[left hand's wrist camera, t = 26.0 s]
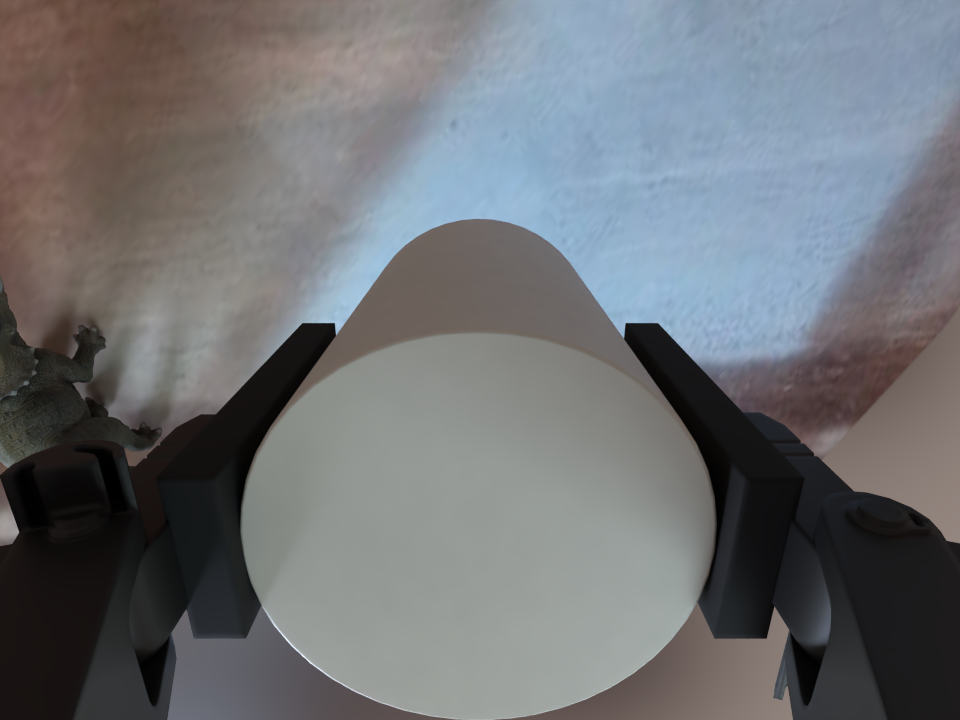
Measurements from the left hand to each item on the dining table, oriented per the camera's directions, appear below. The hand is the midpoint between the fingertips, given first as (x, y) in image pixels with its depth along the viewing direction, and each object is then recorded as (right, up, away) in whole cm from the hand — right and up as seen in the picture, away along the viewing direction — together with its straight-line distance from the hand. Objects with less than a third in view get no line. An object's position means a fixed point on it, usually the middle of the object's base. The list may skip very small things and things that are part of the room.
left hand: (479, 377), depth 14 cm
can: (0, +1, +4) cm, 4 cm away
